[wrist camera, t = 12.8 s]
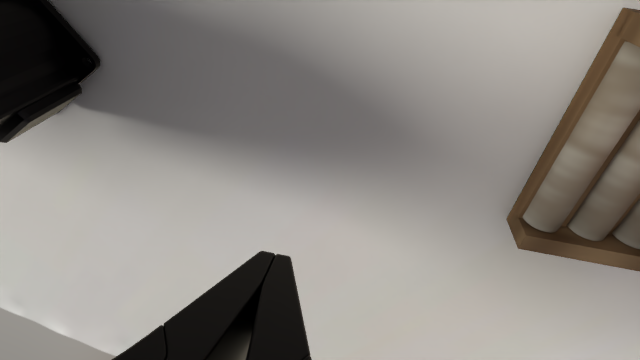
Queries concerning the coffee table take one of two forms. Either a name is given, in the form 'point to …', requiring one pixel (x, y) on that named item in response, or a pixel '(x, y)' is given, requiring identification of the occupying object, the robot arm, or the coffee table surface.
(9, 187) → the coffee table surface
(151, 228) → the coffee table surface
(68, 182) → the coffee table surface
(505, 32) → the coffee table surface
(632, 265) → the roller track
